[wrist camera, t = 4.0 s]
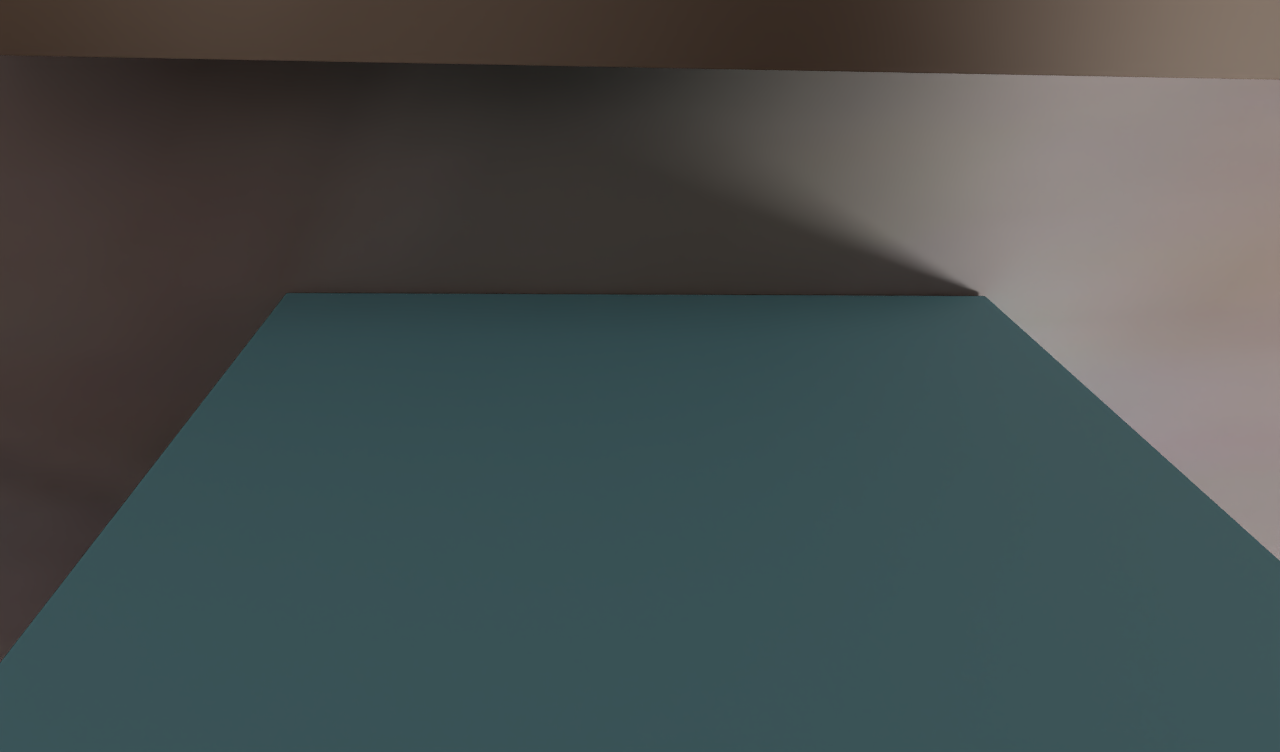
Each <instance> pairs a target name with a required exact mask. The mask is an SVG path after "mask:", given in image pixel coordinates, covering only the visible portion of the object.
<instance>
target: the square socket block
mask: <svg viewBox="0 0 1280 752" xmlns="http://www.w3.org/2000/svg"><path fill="white" fill-rule="evenodd" d="M0 752H1280V561H1279V560H1278V559H1277V558H1276V557H1275V556H1274V555H1272V554H1271V553H1270V552H1269V551H1268V550H1267V549H1266V548H1265V547H1264V546H1262V545H1261V544H1260V543H1259V542H1258V541H1257V540H1256V539H1255V538H1254V537H1252V536H1251V535H1250V534H1249V533H1248V532H1247V531H1246V530H1245V529H1244V528H1242V527H1241V526H1240V525H1239V524H1238V523H1237V522H1236V521H1235V520H1234V519H1232V518H1231V517H1230V516H1229V515H1228V514H1227V513H1226V512H1225V511H1224V510H1222V509H1221V508H1220V507H1219V506H1218V505H1217V504H1216V503H1215V502H1213V501H1212V500H1211V499H1210V498H1209V497H1208V496H1207V495H1206V494H1205V493H1203V492H1202V491H1201V490H1200V489H1199V488H1198V487H1197V486H1196V485H1195V484H1193V483H1192V482H1191V481H1190V480H1189V479H1188V478H1187V477H1186V476H1185V475H1183V474H1182V473H1181V472H1180V471H1179V470H1178V469H1177V468H1176V467H1175V466H1173V465H1172V464H1171V463H1170V462H1169V461H1168V460H1167V459H1166V458H1165V457H1163V456H1162V455H1161V454H1160V453H1159V452H1158V451H1157V450H1156V449H1155V448H1153V447H1152V446H1151V445H1150V444H1149V443H1148V442H1147V441H1146V440H1144V439H1143V438H1142V437H1141V436H1140V435H1139V434H1138V433H1137V432H1136V431H1134V430H1133V429H1132V428H1131V427H1130V426H1129V425H1128V424H1127V423H1126V422H1124V421H1123V420H1122V419H1121V418H1120V417H1119V416H1118V415H1117V414H1116V413H1114V412H1113V411H1112V410H1111V409H1110V408H1109V407H1108V406H1107V405H1106V404H1104V403H1103V402H1102V401H1101V400H1100V399H1099V398H1098V397H1097V396H1096V395H1094V394H1093V393H1092V392H1091V391H1090V390H1089V389H1088V388H1087V387H1085V386H1084V385H1083V384H1082V383H1081V382H1080V381H1079V380H1078V379H1077V378H1075V377H1074V376H1073V375H1072V374H1071V373H1070V372H1069V371H1068V370H1067V369H1065V368H1064V367H1063V366H1062V365H1061V364H1060V363H1059V362H1058V361H1057V360H1055V359H1054V358H1053V357H1052V356H1051V355H1050V354H1049V353H1048V352H1047V351H1045V350H1044V349H1043V348H1042V347H1041V346H1040V345H1039V344H1038V343H1037V342H1035V341H1034V340H1033V339H1032V338H1031V337H1030V336H1029V335H1028V334H1026V333H1025V332H1024V331H1023V330H1022V329H1021V328H1020V327H1019V326H1018V325H1016V324H1015V323H1014V322H1013V321H1012V320H1011V319H1010V318H1009V317H1008V316H1006V315H1005V314H1004V313H1003V312H1002V311H1001V310H1000V309H999V308H998V307H996V306H995V305H994V304H993V303H992V302H991V301H990V300H989V299H988V298H986V297H985V296H840V295H612V294H385V293H286V295H285V296H284V297H283V298H282V300H281V301H280V302H279V304H278V305H277V306H276V308H275V309H274V310H273V311H272V313H271V314H270V315H269V317H268V318H267V319H266V320H265V322H264V323H263V324H262V326H261V327H260V328H259V329H258V331H257V332H256V333H255V335H254V336H253V337H252V338H251V340H250V341H249V342H248V344H247V345H246V346H245V348H244V349H243V350H242V351H241V353H240V354H239V355H238V357H237V358H236V359H235V360H234V362H233V363H232V364H231V366H230V367H229V368H228V369H227V371H226V372H225V373H224V375H223V376H222V377H221V379H220V380H219V381H218V382H217V384H216V385H215V386H214V388H213V389H212V390H211V391H210V393H209V394H208V395H207V397H206V398H205V399H204V400H203V402H202V403H201V404H200V406H199V407H198V408H197V409H196V411H195V412H194V413H193V415H192V416H191V417H190V419H189V420H188V421H187V422H186V424H185V425H184V426H183V428H182V429H181V430H180V431H179V433H178V434H177V435H176V437H175V438H174V439H173V440H172V442H171V443H170V444H169V446H168V447H167V448H166V449H165V451H164V452H163V453H162V455H161V456H160V457H159V459H158V460H157V461H156V462H155V464H154V465H153V466H152V468H151V469H150V470H149V471H148V473H147V474H146V475H145V477H144V478H143V479H142V480H141V482H140V483H139V484H138V486H137V487H136V488H135V489H134V491H133V492H132V493H131V495H130V496H129V497H128V499H127V500H126V501H125V502H124V504H123V505H122V506H121V508H120V509H119V510H118V511H117V513H116V514H115V515H114V517H113V518H112V519H111V520H110V522H109V523H108V524H107V526H106V527H105V528H104V529H103V531H102V532H101V533H100V535H99V536H98V537H97V539H96V540H95V541H94V542H93V544H92V545H91V546H90V548H89V549H88V550H87V551H86V553H85V554H84V555H83V557H82V558H81V559H80V560H79V562H78V563H77V564H76V566H75V567H74V568H73V570H72V571H71V572H70V573H69V575H68V576H67V577H66V579H65V580H64V581H63V582H62V584H61V585H60V586H59V588H58V589H57V590H56V591H55V593H54V594H53V595H52V597H51V598H50V599H49V600H48V602H47V603H46V604H45V606H44V607H43V608H42V610H41V611H40V612H39V613H38V615H37V616H36V617H35V619H34V620H33V621H32V622H31V624H30V625H29V626H28V628H27V629H26V630H25V631H24V633H23V634H22V635H21V637H20V638H19V639H18V640H17V642H16V643H15V644H14V646H13V647H12V648H11V650H10V651H9V652H8V653H7V655H6V656H5V657H4V659H3V660H2V661H1V662H0Z"/></svg>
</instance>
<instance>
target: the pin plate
mask: <svg viewBox="0 0 1280 752" xmlns="http://www.w3.org/2000/svg"><path fill="white" fill-rule="evenodd" d="M0 55H16V56H68V57H120V58H173V59H225V60H278V61H330V62H382V63H435V64H487V65H540V66H592V67H644V68H697V69H749V70H802V71H854V72H906V73H959V74H1011V75H1064V76H1116V77H1168V78H1221V79H1273V80H1280V0H0Z"/></svg>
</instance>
